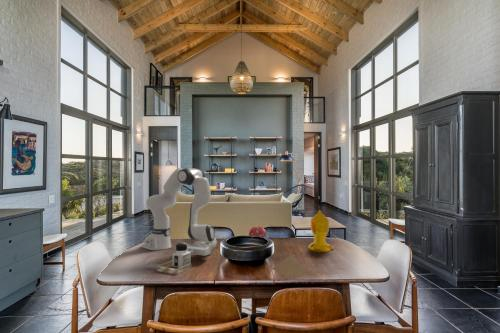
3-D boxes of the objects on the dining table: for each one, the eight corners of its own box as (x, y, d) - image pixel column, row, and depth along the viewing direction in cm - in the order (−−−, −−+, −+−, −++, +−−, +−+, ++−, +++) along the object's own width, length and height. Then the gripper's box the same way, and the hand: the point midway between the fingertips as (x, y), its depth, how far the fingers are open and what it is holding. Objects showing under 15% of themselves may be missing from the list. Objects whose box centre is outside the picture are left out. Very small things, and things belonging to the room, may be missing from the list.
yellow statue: (332, 245, 219) (332, 208, 219) (333, 254, 195) (333, 212, 196) (309, 243, 223) (309, 207, 224) (307, 252, 200) (307, 211, 200)
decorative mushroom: (257, 242, 226) (257, 223, 226) (270, 245, 217) (270, 225, 217) (245, 245, 216) (245, 225, 217) (258, 249, 207) (258, 228, 207)
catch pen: (156, 270, 161) (156, 266, 161) (172, 264, 173) (172, 260, 173) (176, 274, 155) (176, 270, 155) (191, 267, 167) (191, 263, 167)
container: (182, 268, 165) (182, 245, 165) (172, 266, 168) (172, 244, 168) (190, 264, 172) (191, 242, 172) (180, 262, 175) (180, 241, 175)
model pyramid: (295, 265, 173) (295, 248, 173) (312, 274, 157) (312, 256, 157) (270, 268, 167) (270, 251, 167) (285, 279, 151) (285, 259, 151)
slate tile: (146, 269, 165) (146, 266, 165) (151, 266, 171) (151, 263, 171) (155, 270, 164) (155, 267, 164) (161, 266, 169) (161, 264, 169)
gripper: (186, 241, 191) (172, 245, 178) (212, 244, 182) (200, 249, 169) (186, 250, 190) (172, 256, 178) (212, 254, 182) (200, 260, 169)
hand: (186, 252), depth 174 cm, fingers closed, pressing on container
